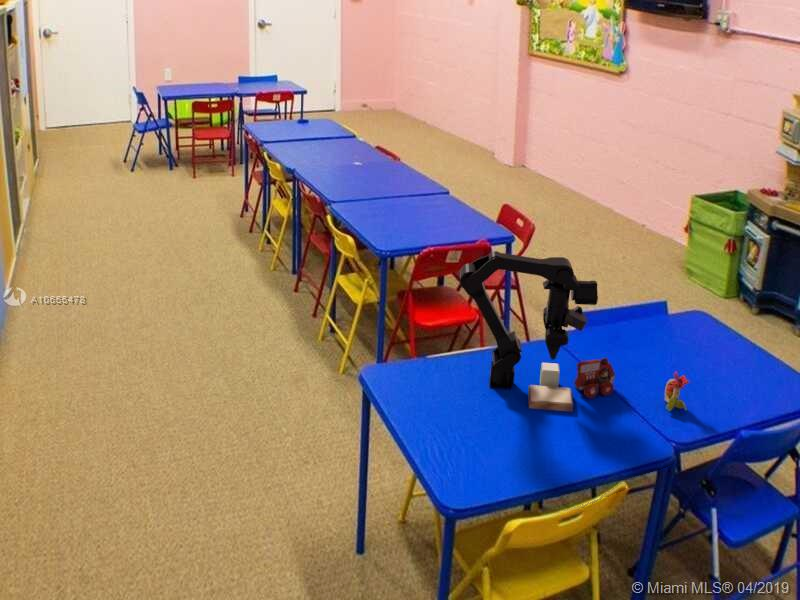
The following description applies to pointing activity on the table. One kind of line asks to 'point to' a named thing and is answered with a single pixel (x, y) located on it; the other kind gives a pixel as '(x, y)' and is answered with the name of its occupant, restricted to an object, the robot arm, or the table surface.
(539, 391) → the plinth
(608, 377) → the toy fire truck
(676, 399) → the bird rattle
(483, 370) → the table surface
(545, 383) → the white block
